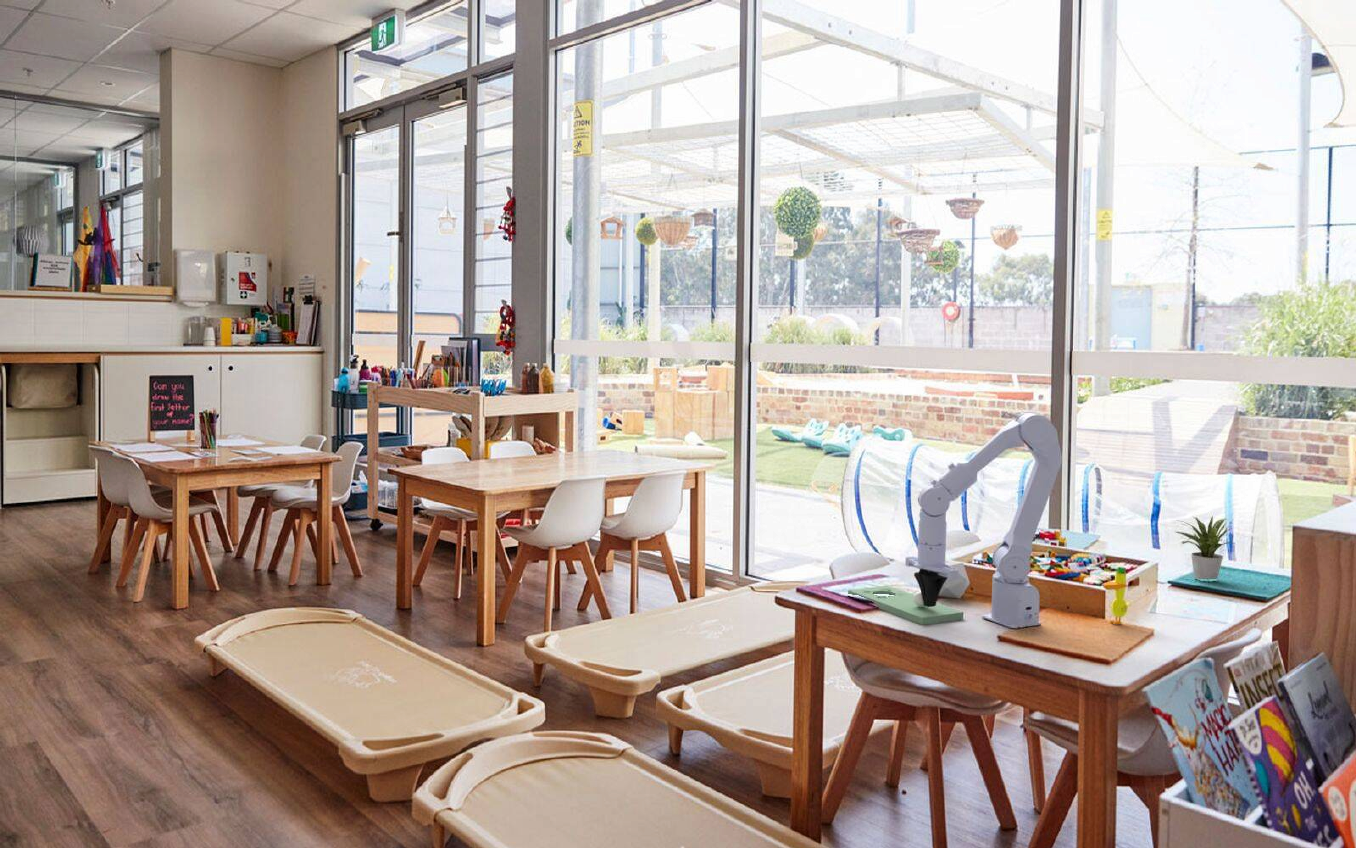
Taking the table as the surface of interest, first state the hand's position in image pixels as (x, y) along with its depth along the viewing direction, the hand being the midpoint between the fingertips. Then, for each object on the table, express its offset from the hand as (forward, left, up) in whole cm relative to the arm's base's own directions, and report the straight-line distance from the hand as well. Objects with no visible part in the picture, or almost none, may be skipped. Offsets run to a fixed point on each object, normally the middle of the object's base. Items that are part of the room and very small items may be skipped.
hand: (929, 606), depth 230 cm
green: (+9, 0, -2) cm, 9 cm away
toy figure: (-20, -33, -3) cm, 38 cm away
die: (+13, -17, -3) cm, 21 cm away
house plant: (0, -87, -3) cm, 87 cm away
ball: (+3, 0, +1) cm, 3 cm away
